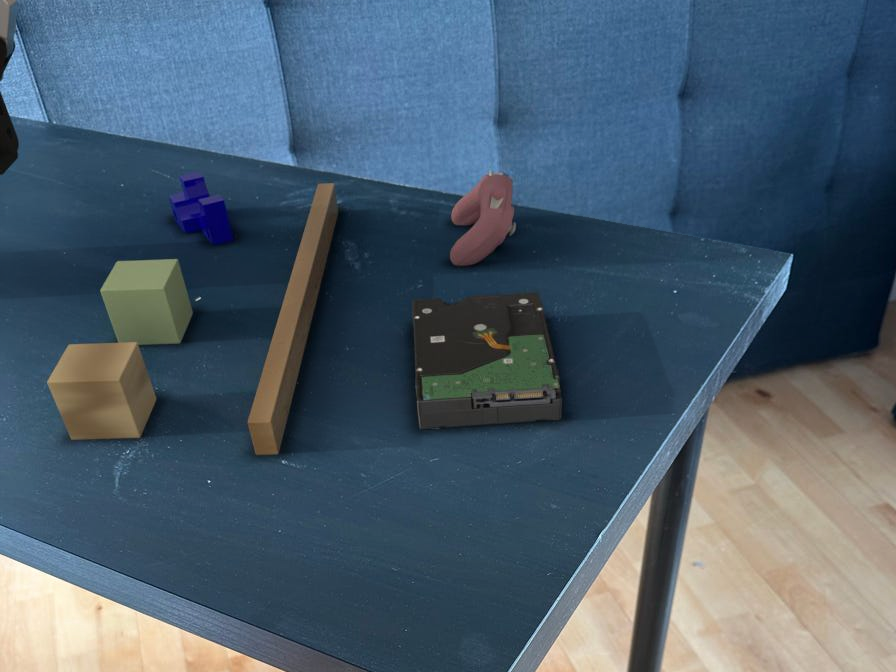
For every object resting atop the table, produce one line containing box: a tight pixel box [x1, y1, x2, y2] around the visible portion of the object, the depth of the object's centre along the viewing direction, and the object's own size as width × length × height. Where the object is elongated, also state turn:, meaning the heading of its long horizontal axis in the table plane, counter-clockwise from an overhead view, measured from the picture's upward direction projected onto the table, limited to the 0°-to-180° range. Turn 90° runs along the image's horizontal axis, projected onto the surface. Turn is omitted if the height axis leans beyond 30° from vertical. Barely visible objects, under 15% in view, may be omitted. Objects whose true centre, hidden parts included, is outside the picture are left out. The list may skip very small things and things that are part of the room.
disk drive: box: [411, 291, 563, 430], centre depth 70 cm, size 10×3×15 cm
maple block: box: [46, 342, 157, 441], centre depth 67 cm, size 5×5×5 cm
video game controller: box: [449, 169, 517, 267], centre depth 84 cm, size 10×5×7 cm, turn 0°
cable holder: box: [167, 171, 234, 246], centre depth 89 cm, size 8×4×4 cm, turn 28°
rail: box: [247, 182, 339, 456], centre depth 77 cm, size 2×40×3 cm, turn 0°
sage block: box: [100, 258, 194, 346], centre depth 76 cm, size 5×5×5 cm
